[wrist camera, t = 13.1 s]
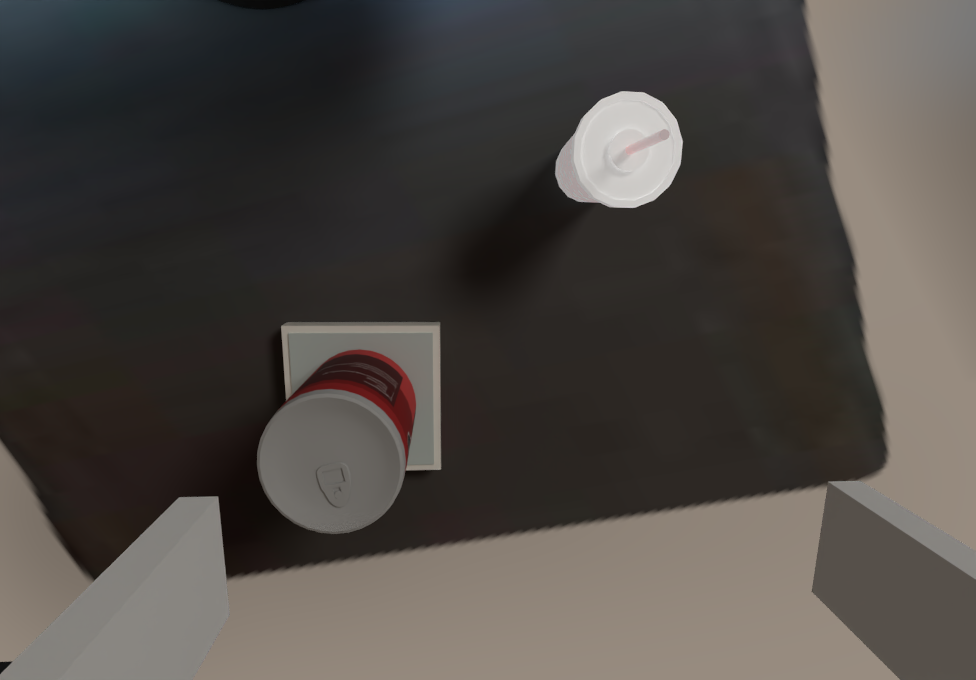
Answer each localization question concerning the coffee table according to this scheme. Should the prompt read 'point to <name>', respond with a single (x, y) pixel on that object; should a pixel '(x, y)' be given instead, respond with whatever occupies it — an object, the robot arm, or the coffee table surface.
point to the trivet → (395, 340)
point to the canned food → (340, 444)
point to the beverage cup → (621, 152)
